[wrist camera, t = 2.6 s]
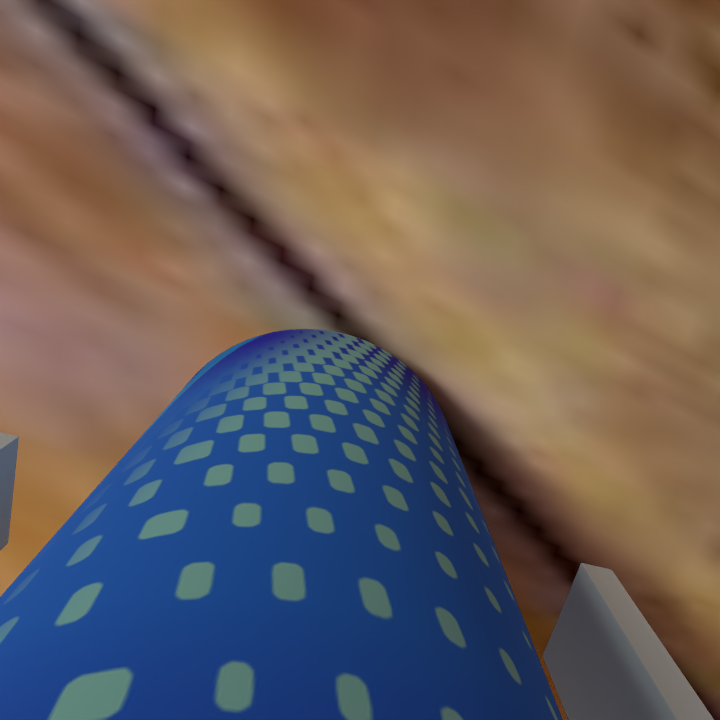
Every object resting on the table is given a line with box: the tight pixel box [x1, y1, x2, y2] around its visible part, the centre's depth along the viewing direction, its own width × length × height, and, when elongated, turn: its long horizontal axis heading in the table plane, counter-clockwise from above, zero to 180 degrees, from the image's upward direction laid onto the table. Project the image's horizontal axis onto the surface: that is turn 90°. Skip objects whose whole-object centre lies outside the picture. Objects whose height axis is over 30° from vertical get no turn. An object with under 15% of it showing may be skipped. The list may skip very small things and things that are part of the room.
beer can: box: [0, 329, 562, 720], centre depth 10 cm, size 8×8×16 cm
